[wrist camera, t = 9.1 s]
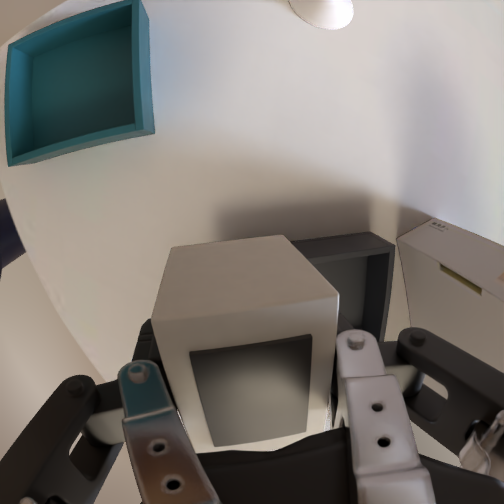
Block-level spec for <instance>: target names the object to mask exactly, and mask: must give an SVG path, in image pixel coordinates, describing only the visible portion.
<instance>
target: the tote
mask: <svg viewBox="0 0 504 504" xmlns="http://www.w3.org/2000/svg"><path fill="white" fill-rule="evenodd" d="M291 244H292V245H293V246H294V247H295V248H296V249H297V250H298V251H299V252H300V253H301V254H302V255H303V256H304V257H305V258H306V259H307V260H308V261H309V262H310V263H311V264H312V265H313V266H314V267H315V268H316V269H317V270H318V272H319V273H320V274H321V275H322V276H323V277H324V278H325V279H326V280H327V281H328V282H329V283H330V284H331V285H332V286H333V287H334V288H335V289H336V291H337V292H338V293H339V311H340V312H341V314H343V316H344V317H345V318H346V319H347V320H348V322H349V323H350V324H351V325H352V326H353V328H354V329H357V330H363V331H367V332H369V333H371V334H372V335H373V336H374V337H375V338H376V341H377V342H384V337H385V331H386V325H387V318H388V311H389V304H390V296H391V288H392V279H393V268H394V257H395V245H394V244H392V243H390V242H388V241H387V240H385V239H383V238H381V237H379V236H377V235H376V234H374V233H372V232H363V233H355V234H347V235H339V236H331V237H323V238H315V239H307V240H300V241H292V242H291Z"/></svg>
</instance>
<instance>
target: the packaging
mask: <svg viewBox="0 0 504 504" xmlns="http://www.w3.org/2000/svg"><path fill="white" fill-rule="evenodd" d="M396 240H397V243H398V247H399V252H400V257H401V263H402V268H403V274H404V279H405V285H406V292H407V298H408V305H409V313H410V321H411V327H418V328H423V329H426V330H428V331H430V332H432V333H433V334H435V335H437V336H439V337H441V338H442V339H444V340H446V341H448V342H450V343H451V344H453V345H455V346H457V347H458V348H460V349H462V350H464V351H466V352H467V353H469V354H471V355H473V356H474V357H476V358H478V359H480V360H481V361H483V362H485V363H487V364H489V365H490V366H492V367H494V368H496V369H497V370H499V371H501V372H503V373H504V246H502V245H500V244H498V243H495V242H493V241H491V240H489V239H486V238H484V237H482V236H479V235H477V234H475V233H472V232H470V231H467V230H465V229H462V228H460V227H457V226H455V225H452V224H450V223H447V222H445V221H442V220H439V219H437V218H433V219H431V220H429V221H428V222H426V223H424V224H422V225H420V226H419V227H417V228H415V229H413V230H411V231H409V232H408V233H406V234H404V235H402V236H400V237H398V238H397V239H396ZM423 383H424V384H425V385H426V386H428V387H429V388H431V389H432V390H434V391H435V392H437V393H438V394H440V395H441V396H443V397H444V398H446V399H447V398H448V392H447V390H446V388H445V387H444V386H443V385H441V384H440V383H438V382H437V381H435V380H434V379H432V378H431V377H429V376H428V375H425V378H424V381H423ZM457 457H458V456H457ZM458 458H459V457H458Z"/></svg>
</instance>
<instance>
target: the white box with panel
mask: <svg viewBox="0 0 504 504" xmlns="http://www.w3.org/2000/svg"><path fill="white" fill-rule="evenodd" d="M338 310H339V293H338V292H337V291H336V289H335V288H334V287H333V286H332V285H331V284H330V283H329V282H328V281H327V280H326V279H325V278H324V277H323V276H322V275H321V274H320V273H319V272H318V270H317V269H316V268H315V267H314V266H313V265H312V264H311V263H310V262H309V261H308V260H307V259H306V258H305V257H304V256H303V255H302V254H301V253H300V252H299V251H298V250H297V249H296V248H295V247H294V246H293V245H292V244H291V242H290V241H289V240H288V239H287V238H286V237H285V236H284V235H273V236H264V237H255V238H246V239H238V240H229V241H220V242H212V243H203V244H195V245H187V246H178V247H172V248H171V251H170V254H169V257H168V260H167V264H166V267H165V270H164V274H163V277H162V281H161V284H160V288H159V291H158V295H157V299H156V302H155V306H154V310H153V313H152V317H151V323H152V327H153V331H154V335H155V338H156V342H157V345H158V349H159V352H160V356H161V359H162V362H163V366H164V369H165V372H166V375H167V379H168V382H169V385H170V388H171V391H172V394H173V397H174V400H175V402H176V405H177V408H178V411H179V414H180V416H181V419H182V422H183V425H184V427H185V430H186V432H187V435H188V438H189V440H190V442H191V444H192V446H193V449H194V451H195V453H207V452H217V451H226V450H243V451H270V450H275V449H280V448H283V447H285V446H287V445H290V444H292V443H294V442H296V441H299V440H301V439H303V438H305V437H307V436H310V435H314V434H318V433H321V432H324V430H325V423H326V417H327V411H328V404H329V397H330V389H331V381H332V373H333V365H334V355H335V346H336V335H337V323H338Z"/></svg>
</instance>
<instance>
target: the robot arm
mask: <svg viewBox="0 0 504 504" xmlns="http://www.w3.org/2000/svg"><path fill="white" fill-rule="evenodd" d="M425 375H428V376H429V377H431V378H432V379H434V380H435V381H437V382H438V383H440V384H441V385H443V386H444V387H445V388H446V390H447V392H448V398H447V399H446V398H444V397H443V396H441V395H440V394H438V393H437V392H435V391H434V390H432V389H431V388H429V387H428V386H426V385H425V384H424V383H423V381H424V378H425ZM177 409H178V408H177V405H176V402H175V400H174V397H173V394H172V391H171V388H170V385H169V382H168V379H167V375H166V372H165V369H164V366H163V362H162V359H161V356H160V352H159V349H158V345H157V342H156V338H155V335H154V331H153V327H152V323H151V319H148V320H147V321H146V322H145V323H144V324H143V325H142V326H141V330H140V333H139V337H138V342H137V344H136V347H135V351H134V355H133V359H132V362H130V363H128V364H126V365H125V366H123V367H122V368H121V369H120V371H119V373H118V379H117V380H114V381H111V382H107V383H104V384H100V385H95V382H94V381H93V379H92V378H91V377H89V376H86V375H75V376H72V377H69V378H67V379H66V380H64V381H63V382H62V383H61V384H60V385H59V386H58V388H57V389H56V390H55V391H54V392H53V394H52V395H51V396H50V397H49V399H48V400H47V401H46V402H45V403H44V405H43V406H42V407H41V408H40V410H39V411H38V412H37V414H36V415H35V416H34V417H33V419H32V420H31V421H30V422H29V424H28V425H27V426H26V428H25V429H24V430H23V431H22V433H21V434H20V435H19V437H18V438H17V439H16V441H15V442H14V443H13V445H12V446H11V447H10V449H9V450H8V451H7V453H6V454H5V456H4V457H3V458H2V460H1V461H0V504H93V503H94V502H95V499H96V497H97V495H98V493H99V491H100V489H101V487H102V485H103V483H104V481H105V479H106V477H107V475H108V473H109V472H110V469H111V468H112V466H113V464H114V462H115V460H116V458H117V456H118V454H119V452H120V450H121V448H122V446H123V444H124V442H126V445H127V449H128V453H129V457H130V461H131V465H132V469H133V472H134V476H135V479H136V482H137V485H138V489H139V492H140V495H141V498H142V502H141V503H140V504H504V373H503V372H501V371H499V370H497V369H496V368H494V367H492V366H490V365H489V364H487V363H485V362H483V361H481V360H480V359H478V358H476V357H474V356H473V355H471V354H469V353H467V352H466V351H464V350H462V349H460V348H458V347H457V346H455V345H453V344H451V343H450V342H448V341H446V340H444V339H442V338H441V337H439V336H437V335H435V334H433V333H432V332H430V331H428V330H426V329H423V328H418V327H410V328H406V329H404V330H402V331H401V332H400V334H399V337H398V341H389V342H377V341H376V338H375V337H374V336H373V335H372V334H371V333H369V332H367V331H363V330H357V329H354V328H353V326H352V325H351V324H350V323H349V322H348V320H347V319H346V318H345V317H344V316H343V314H341V312H340V311H339V310H338V323H337V335H336V346H335V355H334V365H333V373H332V381H331V389H330V397H329V410H330V430H329V431H325V432H321V433H318V434H314V435H310V436H307V437H305V438H303V439H301V440H299V441H296V442H294V443H292V444H290V445H287V446H285V447H283V448H280V449H278V450H275V451H243V450H226V451H217V452H207V453H195V451H194V449H193V446H192V444H191V442H190V440H189V438H188V436H187V434H186V431H185V429H184V427H183V425H182V422H181V420H180V418H179V415H178V413H177ZM409 419H410V420H411V421H412V422H413V423H415V424H416V425H417V426H419V427H420V428H421V429H422V430H424V431H425V432H426V433H428V434H429V435H430V436H431V437H433V438H434V439H436V440H437V441H438V442H439V443H441V444H442V445H443V446H445V447H446V448H447V449H449V450H450V451H451V452H453V453H454V454H455V455H457V456H458V457H459V460H460V463H461V466H460V467H457V466H453V465H450V464H447V463H444V462H441V461H438V460H435V459H432V458H430V457H427V456H424V455H421V454H419V453H418V450H417V446H416V442H415V438H414V435H413V431H412V427H411V423H410V420H409ZM80 432H81V433H82V436H81V438H80V440H79V441H78V443H77V444H76V446H75V448H74V449H73V451H72V452H71V454H70V455H69V450H70V448H71V446H72V444H73V443H74V441H75V440H76V438H77V436H78V435H79V433H80Z"/></svg>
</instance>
